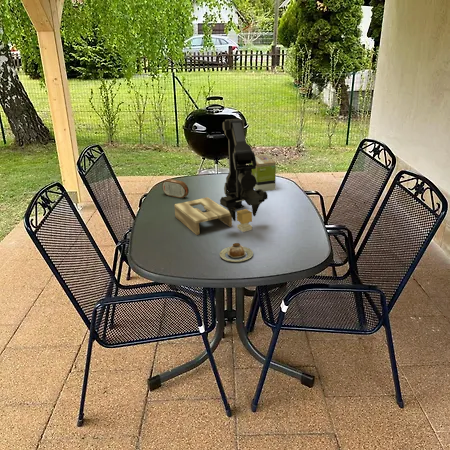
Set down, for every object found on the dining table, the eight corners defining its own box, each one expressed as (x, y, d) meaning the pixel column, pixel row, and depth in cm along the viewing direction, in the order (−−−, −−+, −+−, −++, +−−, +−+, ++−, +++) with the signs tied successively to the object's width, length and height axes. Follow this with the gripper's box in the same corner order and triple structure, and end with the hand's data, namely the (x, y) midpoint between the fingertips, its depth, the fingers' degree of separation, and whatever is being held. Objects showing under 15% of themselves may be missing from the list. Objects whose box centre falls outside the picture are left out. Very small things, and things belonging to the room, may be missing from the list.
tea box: (248, 183, 229) (248, 156, 223) (266, 181, 231) (266, 154, 225) (257, 192, 216) (256, 163, 210) (276, 190, 218) (276, 161, 212)
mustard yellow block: (246, 225, 178) (246, 208, 175) (252, 229, 175) (251, 212, 172) (237, 228, 176) (236, 211, 173) (242, 232, 173) (242, 214, 170)
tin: (189, 198, 211) (188, 181, 208) (185, 200, 209) (184, 183, 206) (165, 193, 219) (164, 177, 216) (161, 195, 217) (160, 179, 213)
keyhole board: (208, 209, 196) (207, 197, 194) (232, 226, 178) (231, 212, 176) (175, 217, 189) (174, 204, 187) (196, 235, 171) (195, 221, 169)
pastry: (257, 261, 151) (257, 250, 149) (223, 266, 148) (222, 254, 147) (248, 247, 161) (248, 235, 159) (216, 250, 159) (216, 239, 157)
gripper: (233, 191, 157) (234, 230, 163) (275, 182, 165) (275, 220, 171) (218, 183, 166) (220, 220, 172) (259, 175, 174) (259, 211, 180)
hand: (244, 218), depth 174 cm, fingers open, 9 cm apart
